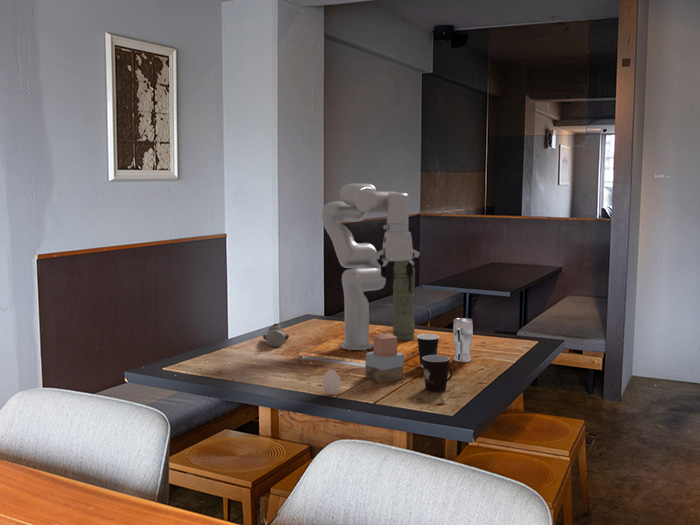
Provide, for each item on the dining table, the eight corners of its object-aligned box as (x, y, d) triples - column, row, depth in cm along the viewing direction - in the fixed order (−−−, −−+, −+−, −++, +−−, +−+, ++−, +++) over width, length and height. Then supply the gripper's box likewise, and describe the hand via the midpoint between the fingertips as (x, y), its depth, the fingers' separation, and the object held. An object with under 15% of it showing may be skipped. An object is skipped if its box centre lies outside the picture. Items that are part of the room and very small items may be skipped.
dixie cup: (415, 363, 256) (415, 333, 255) (437, 363, 256) (438, 333, 255) (417, 369, 248) (417, 338, 247) (440, 369, 248) (440, 338, 247)
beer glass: (471, 363, 257) (472, 322, 255) (452, 362, 258) (452, 321, 256) (472, 358, 264) (473, 318, 262) (453, 357, 265) (454, 317, 263)
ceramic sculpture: (261, 326, 278) (263, 321, 293) (261, 348, 279) (263, 342, 294) (289, 326, 279) (289, 320, 294) (289, 348, 280) (289, 341, 295)
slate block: (365, 364, 239) (365, 353, 238) (386, 360, 244) (386, 349, 244) (383, 370, 232) (383, 358, 231) (403, 366, 237) (403, 354, 237)
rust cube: (373, 352, 239) (373, 335, 238) (389, 350, 241) (389, 333, 240) (380, 356, 233) (380, 338, 233) (397, 355, 235) (397, 337, 235)
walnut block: (365, 377, 240) (365, 364, 239) (387, 373, 245) (387, 360, 244) (381, 384, 232) (381, 370, 232) (403, 379, 237) (403, 366, 237)
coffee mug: (419, 385, 229) (420, 355, 228) (446, 384, 230) (446, 354, 229) (426, 396, 218) (426, 364, 217) (454, 395, 219) (454, 364, 217)
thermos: (399, 334, 303) (400, 252, 299) (421, 338, 295) (422, 254, 291) (385, 337, 297) (385, 254, 293) (407, 342, 289) (407, 256, 285)
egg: (341, 396, 218) (341, 371, 217) (324, 398, 217) (323, 372, 216) (338, 391, 223) (338, 366, 223) (320, 392, 222) (320, 367, 221)
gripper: (379, 229, 243) (378, 279, 245) (424, 228, 249) (423, 277, 251) (370, 228, 250) (370, 276, 252) (414, 226, 256) (414, 273, 258)
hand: (396, 276), depth 252 cm, fingers open, 9 cm apart
